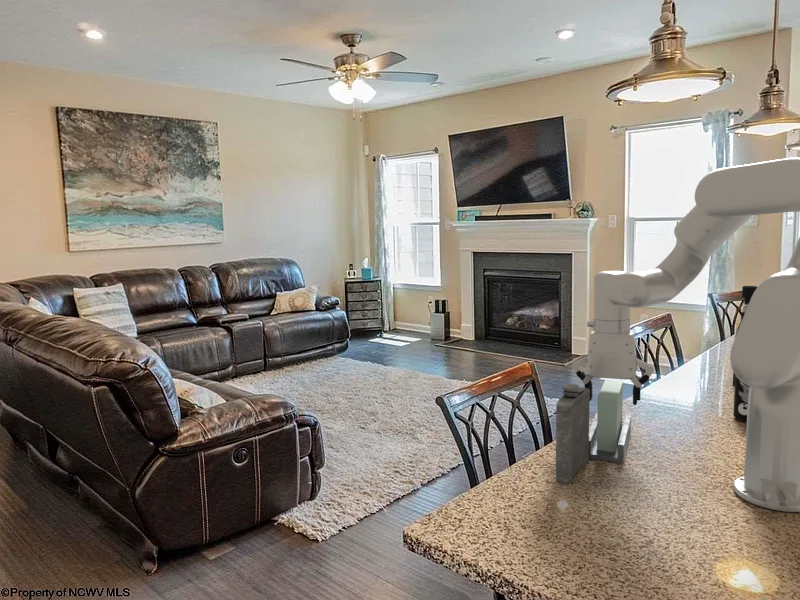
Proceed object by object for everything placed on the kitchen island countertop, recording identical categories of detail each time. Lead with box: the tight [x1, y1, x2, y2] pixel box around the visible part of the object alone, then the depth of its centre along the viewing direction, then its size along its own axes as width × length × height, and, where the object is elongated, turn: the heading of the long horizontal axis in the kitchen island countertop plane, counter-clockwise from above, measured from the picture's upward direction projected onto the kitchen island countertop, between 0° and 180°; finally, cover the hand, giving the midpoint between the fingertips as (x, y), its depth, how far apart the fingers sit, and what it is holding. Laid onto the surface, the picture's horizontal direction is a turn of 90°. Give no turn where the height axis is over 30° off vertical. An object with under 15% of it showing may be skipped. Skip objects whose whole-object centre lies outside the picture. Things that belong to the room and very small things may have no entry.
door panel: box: [596, 379, 624, 452], centre depth 131 cm, size 14×4×12 cm, turn 154°
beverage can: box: [733, 376, 750, 424], centre depth 144 cm, size 7×7×12 cm
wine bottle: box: [732, 285, 758, 387], centre depth 170 cm, size 6×6×30 cm
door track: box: [589, 411, 632, 464], centre depth 131 cm, size 20×8×4 cm, turn 154°
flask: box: [555, 383, 591, 485], centre depth 117 cm, size 4×14×18 cm, turn 145°
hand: (612, 401), depth 130 cm, fingers open, 9 cm apart
